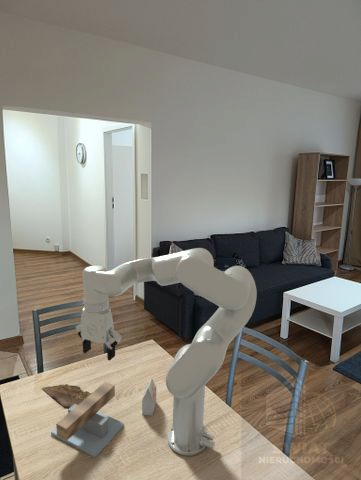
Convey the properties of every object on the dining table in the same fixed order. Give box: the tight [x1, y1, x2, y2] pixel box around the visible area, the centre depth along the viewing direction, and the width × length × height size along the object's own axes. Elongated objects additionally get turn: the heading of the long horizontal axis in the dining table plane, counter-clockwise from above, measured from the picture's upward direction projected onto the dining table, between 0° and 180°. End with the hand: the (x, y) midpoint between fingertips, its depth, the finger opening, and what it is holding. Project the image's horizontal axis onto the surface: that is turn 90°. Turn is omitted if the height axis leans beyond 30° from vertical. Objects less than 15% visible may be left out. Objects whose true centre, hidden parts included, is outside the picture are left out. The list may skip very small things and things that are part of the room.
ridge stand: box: [50, 404, 125, 458], centre depth 105 cm, size 18×14×6 cm
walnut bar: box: [55, 381, 116, 440], centre depth 105 cm, size 22×4×4 cm, turn 153°
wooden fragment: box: [41, 383, 93, 408], centre depth 121 cm, size 26×11×1 cm, turn 65°
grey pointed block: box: [141, 378, 157, 416], centre depth 116 cm, size 4×7×10 cm, turn 173°
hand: (99, 354), depth 106 cm, fingers open, 9 cm apart
